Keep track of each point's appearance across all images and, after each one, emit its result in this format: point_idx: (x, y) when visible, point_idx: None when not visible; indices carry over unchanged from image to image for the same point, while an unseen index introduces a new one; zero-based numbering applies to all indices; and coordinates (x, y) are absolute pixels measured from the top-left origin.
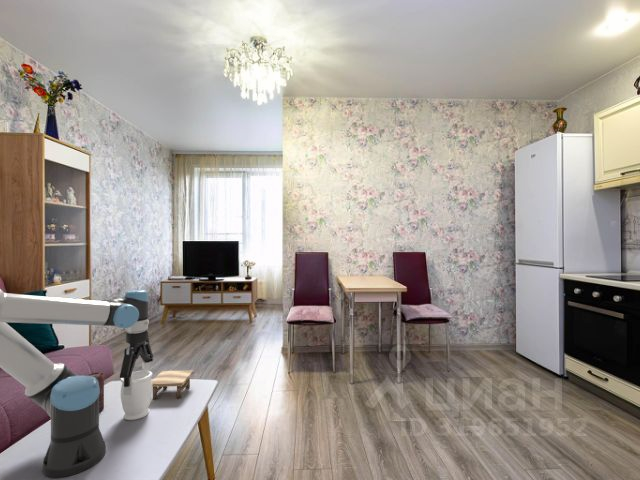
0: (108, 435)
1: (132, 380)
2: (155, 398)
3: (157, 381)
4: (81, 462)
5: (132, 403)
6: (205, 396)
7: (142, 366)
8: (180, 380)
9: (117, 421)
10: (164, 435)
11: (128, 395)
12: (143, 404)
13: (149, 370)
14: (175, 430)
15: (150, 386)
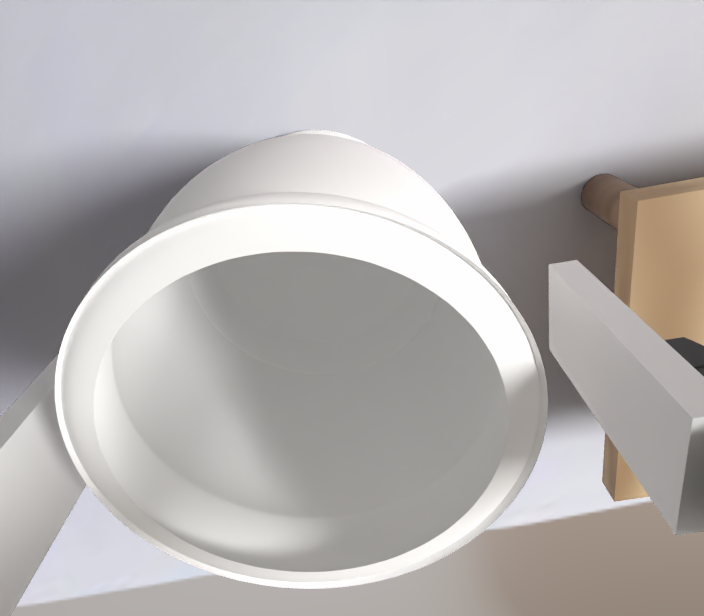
0: (24, 214)
1: (44, 553)
2: (587, 208)
3: (697, 268)
4: None
5: (190, 324)
6: (597, 505)
7: (649, 368)
8: None
9: (199, 135)
10: None
11: (141, 340)
12: (269, 359)
13: (604, 422)
14: None
15: (339, 470)
